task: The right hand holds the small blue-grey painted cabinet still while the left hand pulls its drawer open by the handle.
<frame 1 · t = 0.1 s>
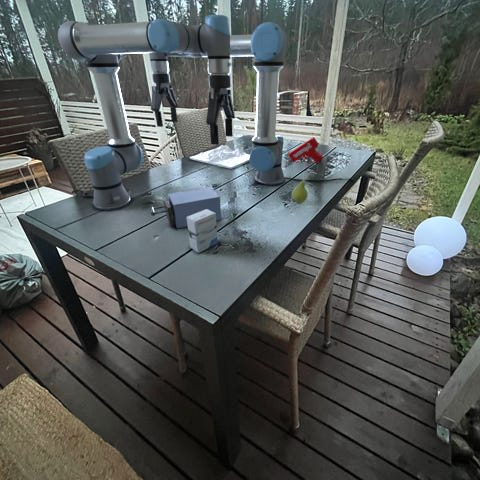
left hand: (222, 140, 103), 28 cm above the table, tool pointing down, fingers open, 13 cm apart
right hand: (167, 124, 132), 28 cm above the table, tool pointing down, fingers open, 13 cm apart
toy gun: (304, 162, 171), on the table
fruit: (299, 202, 122), on the table
drawer: (180, 209, 105), point 5 cm above the table, slide at 1.0 cm
relief map: (223, 158, 179), on the table
ink box: (204, 245, 93), on the table
cabinet: (196, 217, 110), on the table
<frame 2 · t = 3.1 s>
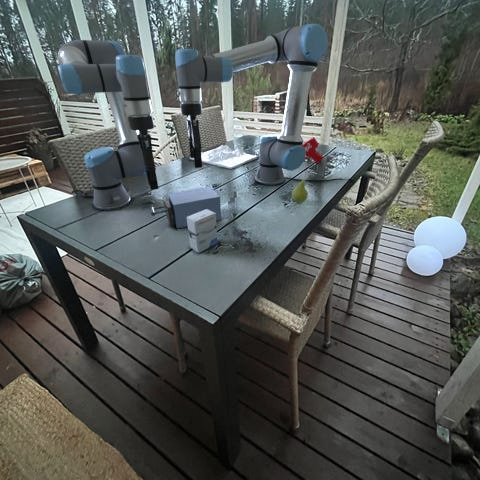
left hand: (153, 186, 97), 16 cm above the table, tool pointing down, fingers open, 4 cm apart
right hand: (196, 162, 107), 20 cm above the table, tool pointing down, fingers open, 13 cm apart
nothing on the table moved.
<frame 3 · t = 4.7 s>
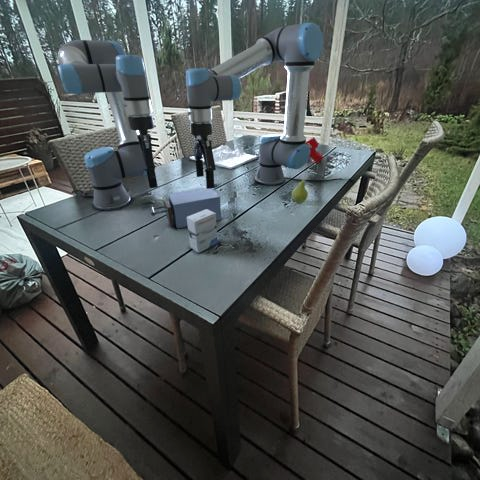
left hand: (153, 187, 97), 15 cm above the table, tool pointing down, fingers closed
right hand: (205, 182, 103), 14 cm above the table, tool pointing down, fingers open, 13 cm apart
nothing on the table moved.
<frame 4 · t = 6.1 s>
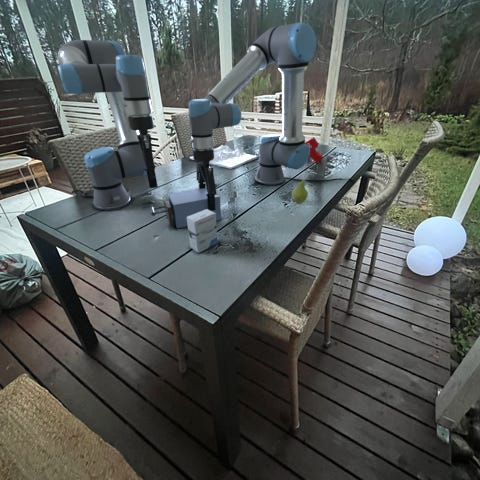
left hand: (153, 187, 97), 15 cm above the table, tool pointing down, fingers closed
right hand: (207, 204, 109), 5 cm above the table, tool pointing down, fingers closed on cabinet, 11 cm apart
cabinet: (196, 217, 110), on the table, touching right hand
everything else where it was.
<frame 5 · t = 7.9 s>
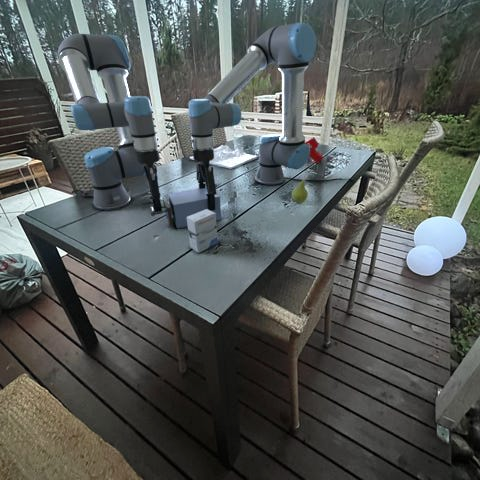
left hand: (158, 213, 102), 5 cm above the table, tool pointing down, fingers closed
right hand: (207, 204, 109), 5 cm above the table, tool pointing down, fingers closed on cabinet, 11 cm apart
drawer: (180, 209, 105), point 5 cm above the table, slide at 1.1 cm, touching left hand
cabinet: (196, 217, 110), on the table, touching right hand
everything else where it was.
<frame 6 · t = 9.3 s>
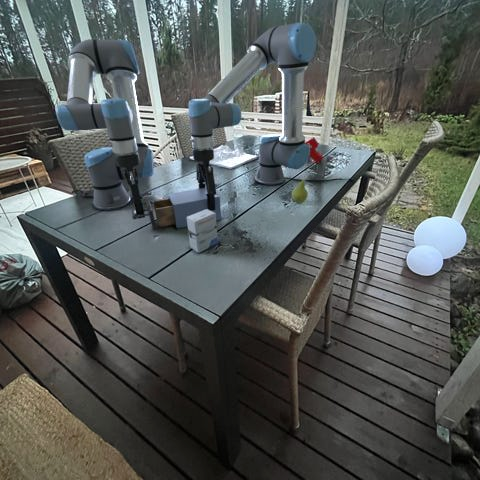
left hand: (141, 217, 100), 5 cm above the table, tool pointing down, fingers closed
right hand: (207, 204, 109), 5 cm above the table, tool pointing down, fingers closed on cabinet, 11 cm apart
drawer: (163, 212, 103), point 5 cm above the table, slide at 7.4 cm, touching left hand
cabinet: (196, 217, 110), on the table, touching right hand
everything else where it was.
when the right hand's fingers open (5 cm above the table, at t = 11.0 s): cabinet stays where it is, on the table.
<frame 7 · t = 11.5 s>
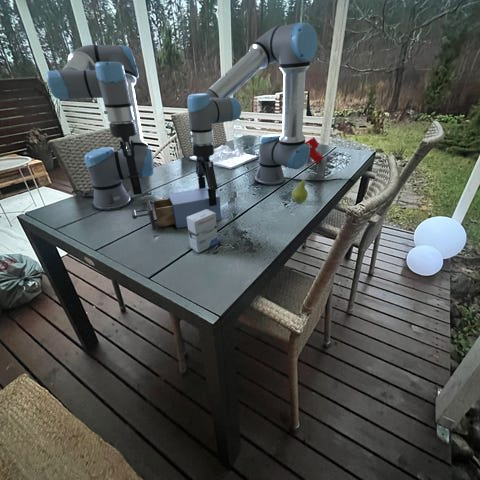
left hand: (137, 193, 96), 14 cm above the table, tool pointing down, fingers closed
right hand: (207, 198, 108), 7 cm above the table, tool pointing down, fingers open, 13 cm apart
drawer: (163, 212, 103), point 5 cm above the table, slide at 7.4 cm
cabinet: (195, 217, 110), on the table
everything else where it was.
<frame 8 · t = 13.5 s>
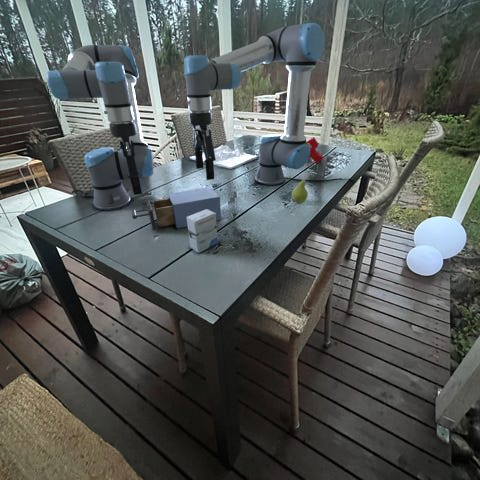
left hand: (137, 193, 96), 14 cm above the table, tool pointing down, fingers closed
right hand: (205, 173, 102), 18 cm above the table, tool pointing down, fingers open, 13 cm apart
nothing on the table moved.
at the end: drawer slide at 7.4 cm; cabinet tilted 0°; cabinet never tilted more than 1° during the clip; cabinet moved 0.1 cm from its start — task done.
